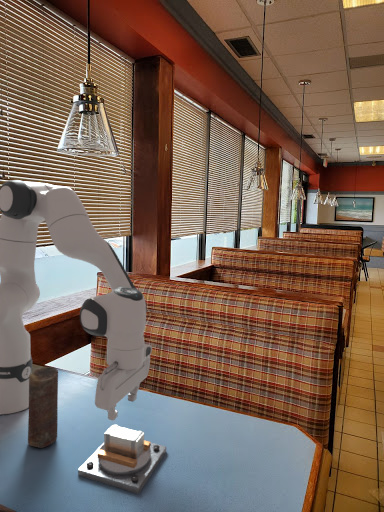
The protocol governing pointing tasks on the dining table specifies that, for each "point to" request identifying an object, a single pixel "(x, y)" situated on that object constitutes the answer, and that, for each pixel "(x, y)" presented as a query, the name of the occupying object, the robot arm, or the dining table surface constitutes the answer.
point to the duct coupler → (124, 442)
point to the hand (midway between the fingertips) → (122, 408)
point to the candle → (43, 407)
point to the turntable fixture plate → (123, 467)
